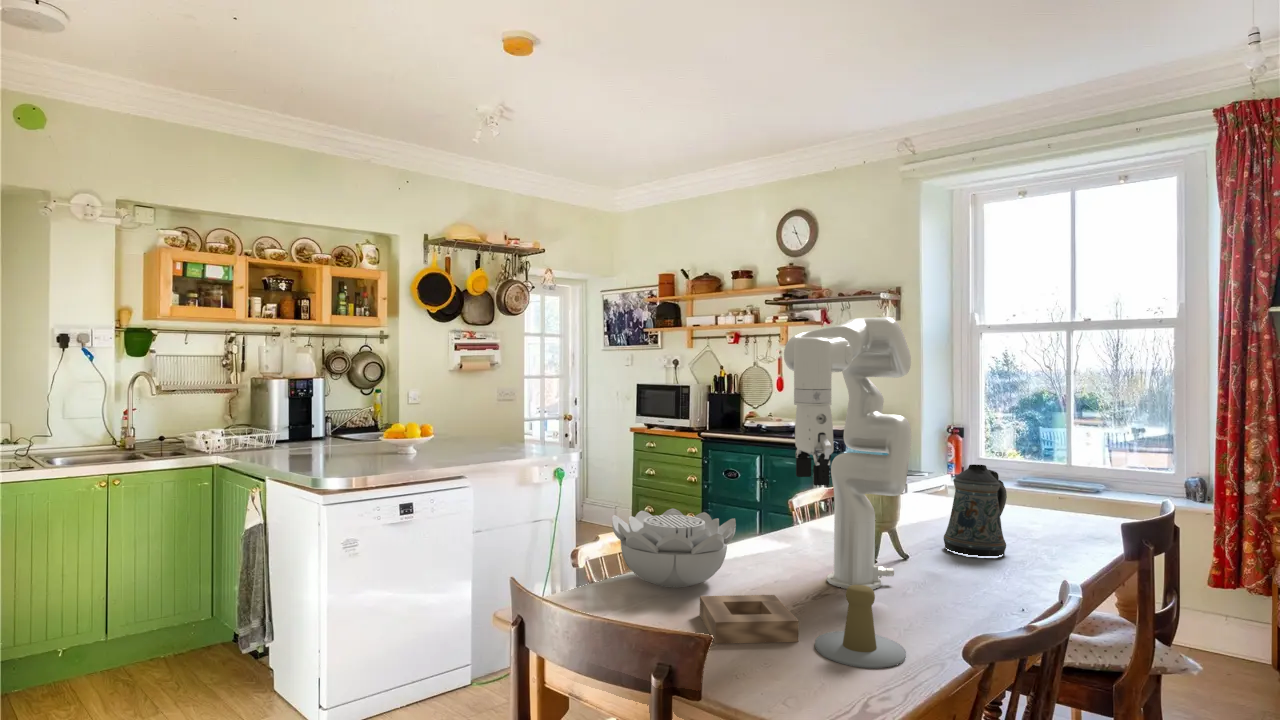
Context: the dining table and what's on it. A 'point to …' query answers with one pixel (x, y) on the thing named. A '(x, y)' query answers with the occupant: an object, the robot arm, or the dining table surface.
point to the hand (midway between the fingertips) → (812, 480)
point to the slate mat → (881, 657)
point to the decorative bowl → (673, 546)
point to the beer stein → (977, 513)
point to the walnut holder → (748, 619)
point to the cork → (860, 619)
